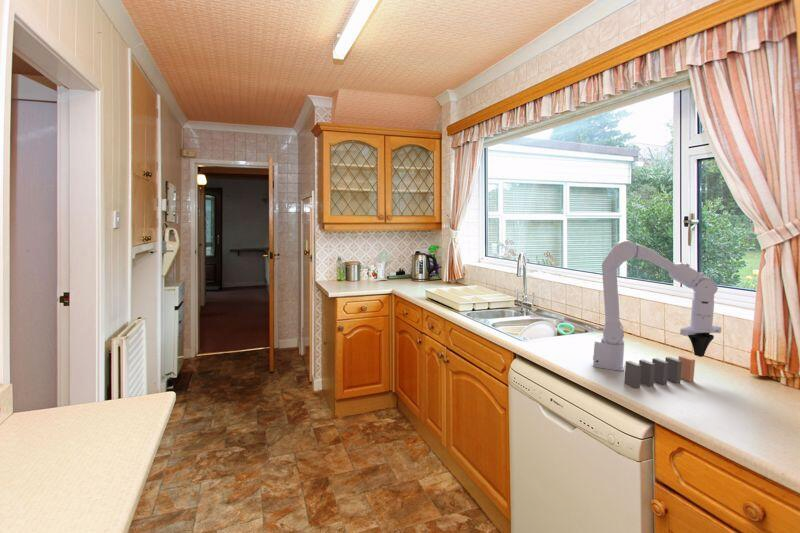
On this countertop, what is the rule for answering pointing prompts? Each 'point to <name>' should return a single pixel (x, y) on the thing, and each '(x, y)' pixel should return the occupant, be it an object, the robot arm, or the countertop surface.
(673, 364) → the domino
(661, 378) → the domino
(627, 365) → the domino
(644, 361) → the domino
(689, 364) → the domino
